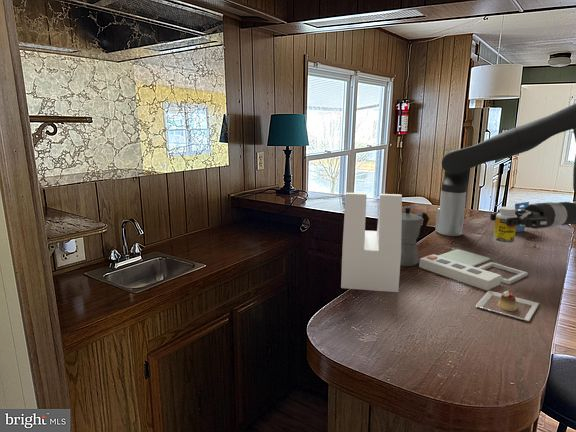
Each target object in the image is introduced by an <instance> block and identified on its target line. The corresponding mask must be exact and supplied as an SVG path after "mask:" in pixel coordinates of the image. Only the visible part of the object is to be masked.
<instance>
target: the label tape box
mask: <svg viewBox="0 0 576 432" xmlns="http://www.w3.org/2000/svg"><path fill="white" fill-rule="evenodd" d="M528 205H530V202H529V201H527V202H525V201H524V202H519V203H518V202H516V203H514V208H515V209H516V210H519V209H525V208H526V207H527V206H528ZM525 229H526V227H525V226H519V225H516V231H515V233H518V232H519V233H520V232H523V231H525Z"/></svg>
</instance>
